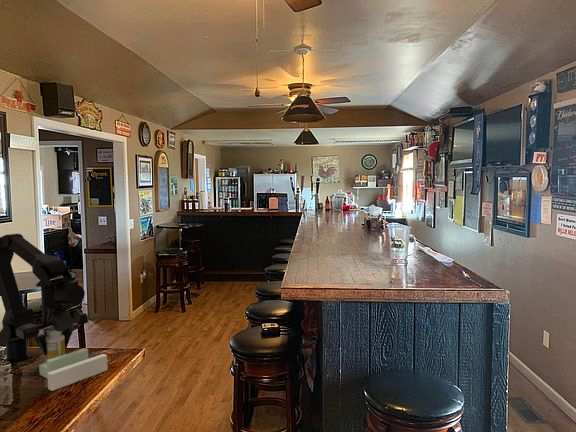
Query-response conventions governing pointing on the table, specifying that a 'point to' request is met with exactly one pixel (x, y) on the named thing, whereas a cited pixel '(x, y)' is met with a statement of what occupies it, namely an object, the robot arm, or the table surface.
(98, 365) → the backstop wall
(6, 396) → the table surface
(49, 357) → the supplement bottle
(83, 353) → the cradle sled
